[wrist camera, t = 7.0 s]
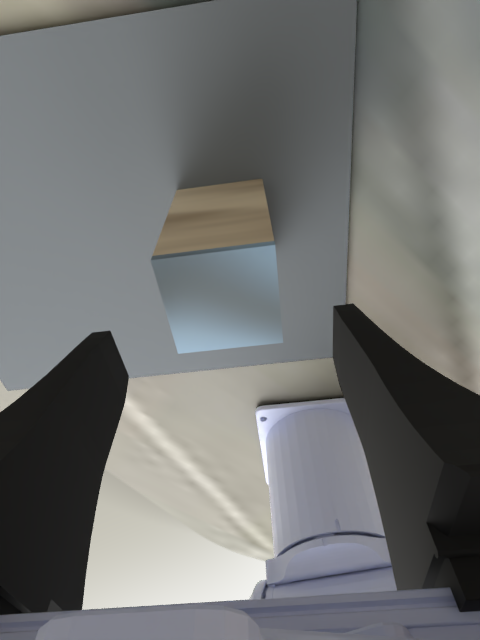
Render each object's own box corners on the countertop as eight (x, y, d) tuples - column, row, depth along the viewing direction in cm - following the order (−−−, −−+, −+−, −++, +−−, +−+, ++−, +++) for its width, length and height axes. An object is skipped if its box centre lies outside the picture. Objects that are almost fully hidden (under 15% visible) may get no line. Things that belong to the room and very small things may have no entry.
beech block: (269, 256, 20) (283, 342, 15) (193, 265, 20) (178, 353, 15) (262, 178, 18) (275, 244, 12) (176, 190, 18) (150, 260, 12)
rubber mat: (342, 351, 25) (343, 356, 24) (10, 386, 26) (7, 390, 26) (355, -23, 14) (357, -24, 14) (-203, 70, 16) (-212, 70, 15)
